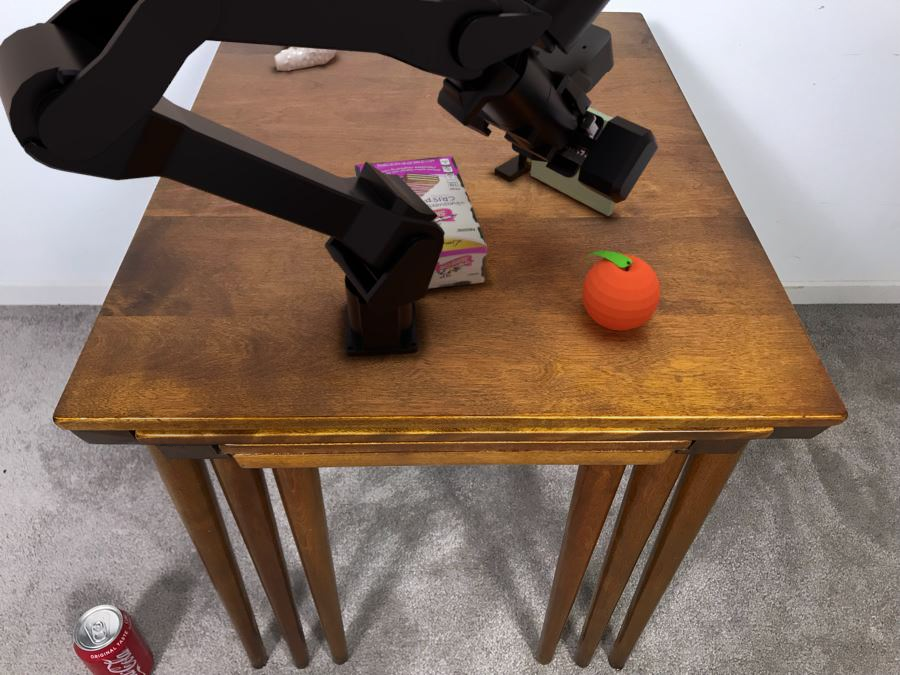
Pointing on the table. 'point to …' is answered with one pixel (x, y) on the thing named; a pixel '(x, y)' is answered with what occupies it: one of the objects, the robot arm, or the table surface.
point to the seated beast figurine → (302, 58)
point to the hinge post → (513, 168)
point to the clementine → (620, 291)
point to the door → (574, 182)
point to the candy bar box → (445, 216)
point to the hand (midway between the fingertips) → (581, 161)
